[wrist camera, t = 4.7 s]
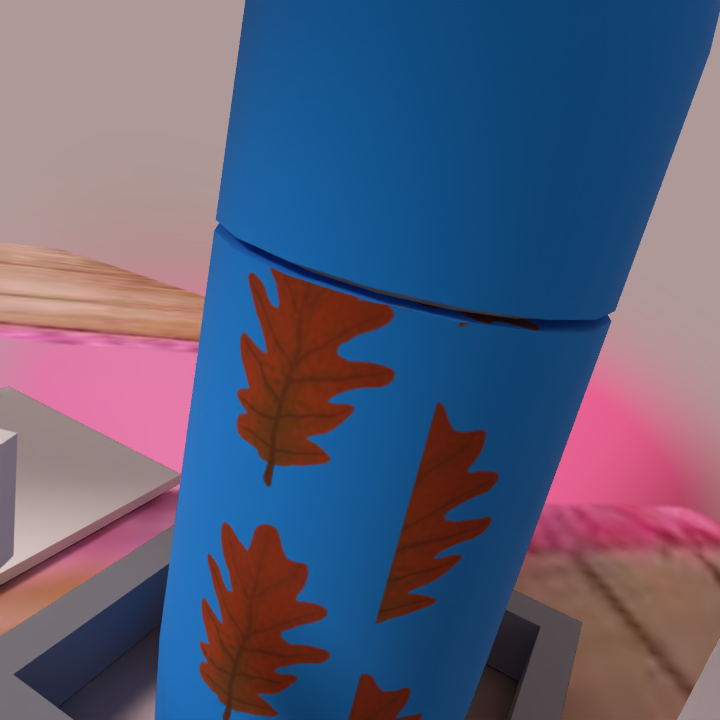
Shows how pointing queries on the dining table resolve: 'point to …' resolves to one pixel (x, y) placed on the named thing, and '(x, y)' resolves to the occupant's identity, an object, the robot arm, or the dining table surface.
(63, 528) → the mat
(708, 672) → the robot arm
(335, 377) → the thermos
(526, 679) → the collar
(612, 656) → the dining table surface
